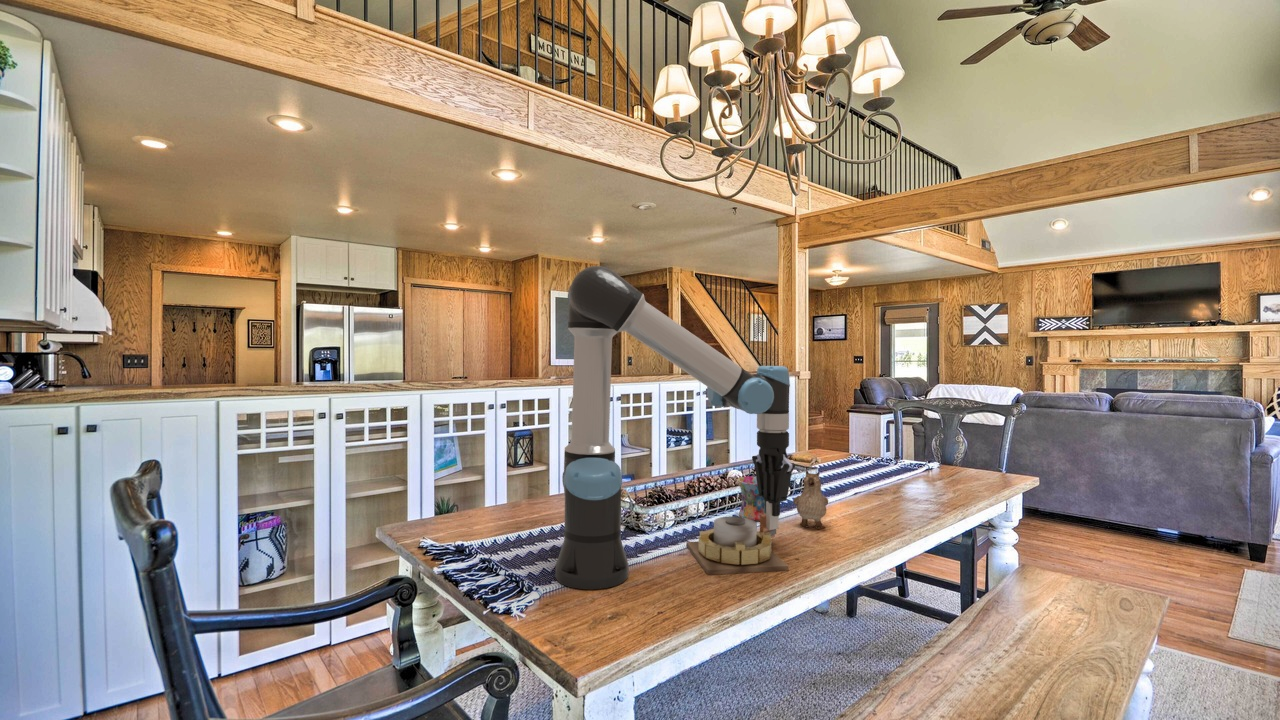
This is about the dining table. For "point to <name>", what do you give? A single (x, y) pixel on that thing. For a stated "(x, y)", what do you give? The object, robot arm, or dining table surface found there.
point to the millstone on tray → (738, 547)
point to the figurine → (811, 501)
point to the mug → (751, 499)
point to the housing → (727, 535)
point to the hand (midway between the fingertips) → (772, 528)
